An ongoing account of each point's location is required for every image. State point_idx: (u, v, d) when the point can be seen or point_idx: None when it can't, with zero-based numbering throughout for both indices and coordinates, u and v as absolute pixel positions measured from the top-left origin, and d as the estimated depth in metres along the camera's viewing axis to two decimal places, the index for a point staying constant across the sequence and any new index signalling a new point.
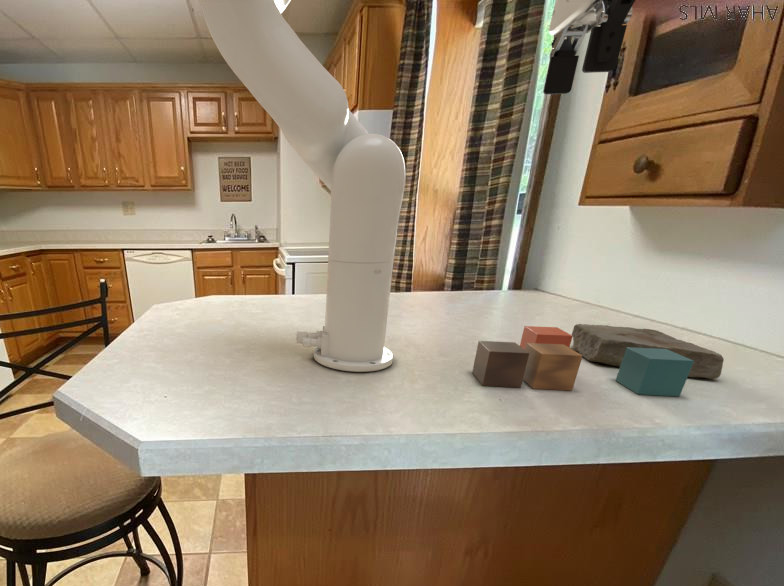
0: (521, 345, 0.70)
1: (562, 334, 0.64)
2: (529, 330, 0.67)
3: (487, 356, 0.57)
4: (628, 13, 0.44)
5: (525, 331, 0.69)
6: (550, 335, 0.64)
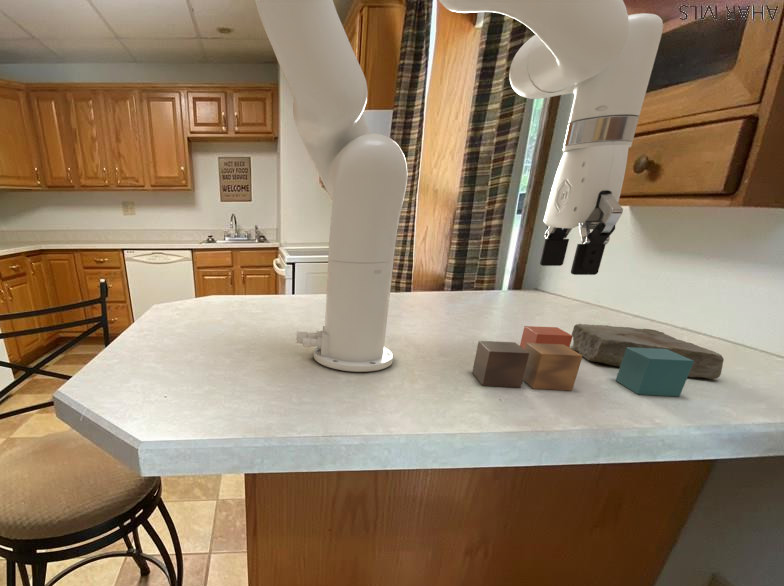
0: (521, 345, 0.70)
1: (562, 334, 0.64)
2: (529, 330, 0.67)
3: (487, 356, 0.57)
4: (606, 239, 0.55)
5: (525, 331, 0.69)
6: (550, 335, 0.64)
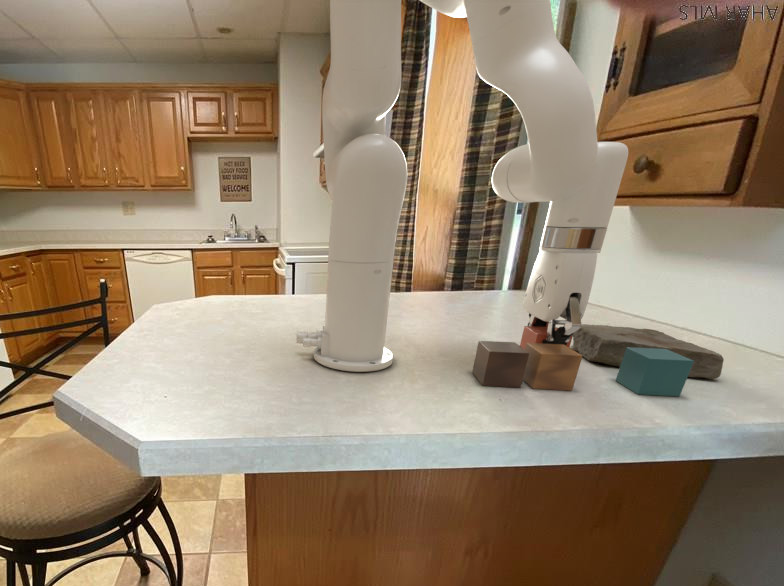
0: (521, 345, 0.70)
1: None
2: (529, 330, 0.67)
3: (487, 356, 0.57)
4: (566, 341, 0.62)
5: (525, 331, 0.69)
6: None
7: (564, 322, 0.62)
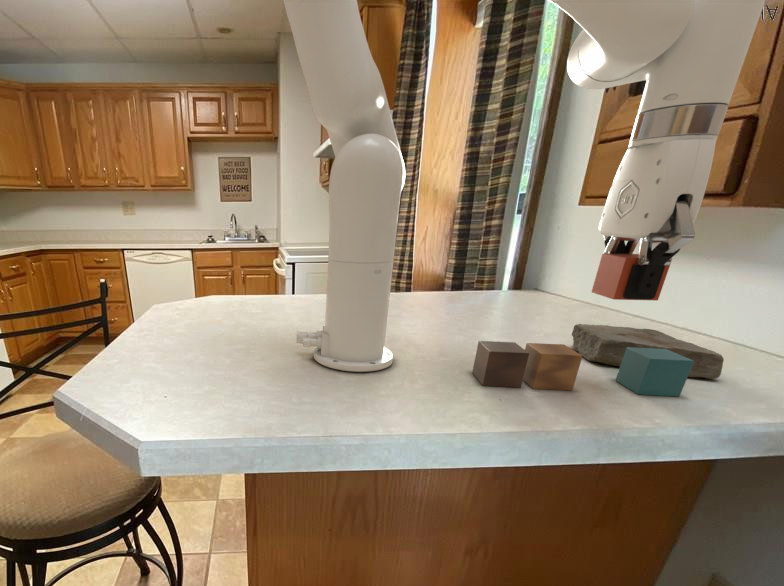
0: (597, 278, 0.56)
1: None
2: (610, 257, 0.53)
3: (487, 356, 0.57)
4: (666, 263, 0.48)
5: (603, 260, 0.55)
6: None
7: (664, 238, 0.48)
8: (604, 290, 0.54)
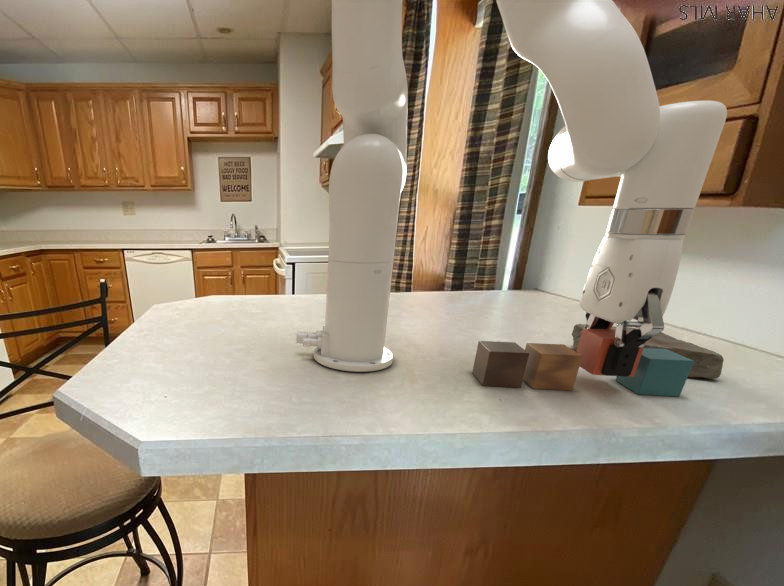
0: (578, 351, 0.59)
1: None
2: (590, 334, 0.57)
3: (487, 356, 0.57)
4: (640, 346, 0.52)
5: (584, 335, 0.58)
6: None
7: (637, 324, 0.52)
8: (584, 363, 0.58)
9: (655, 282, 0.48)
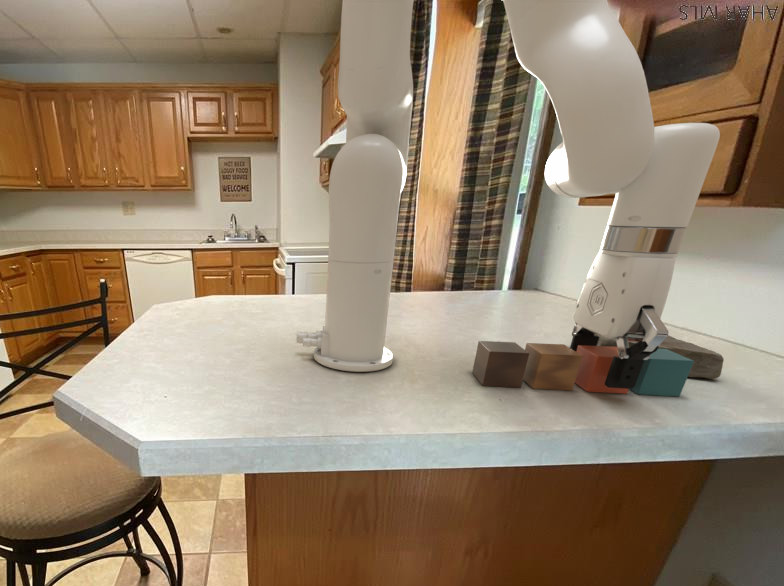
0: None
1: None
2: (585, 351, 0.58)
3: (487, 356, 0.57)
4: (646, 356, 0.50)
5: (579, 352, 0.59)
6: None
7: (637, 335, 0.51)
8: (579, 380, 0.59)
9: (647, 299, 0.49)
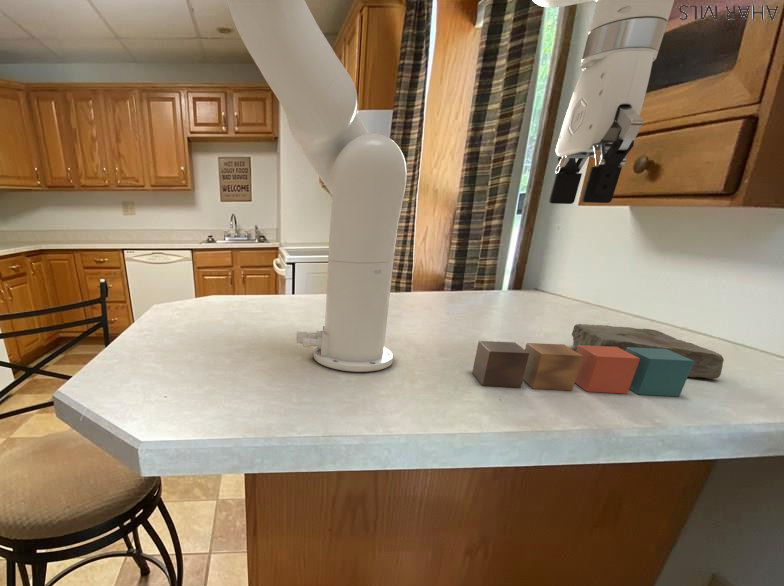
0: None
1: (627, 356, 0.55)
2: (585, 351, 0.58)
3: (487, 356, 0.57)
4: (622, 160, 0.50)
5: (579, 352, 0.59)
6: (613, 357, 0.55)
7: None
8: (579, 380, 0.59)
9: (624, 97, 0.49)
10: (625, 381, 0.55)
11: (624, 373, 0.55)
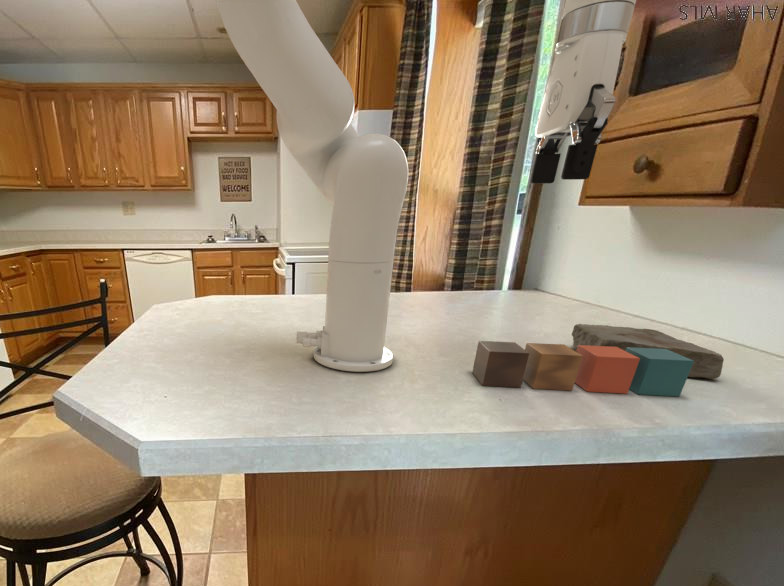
0: None
1: (627, 356, 0.55)
2: (585, 351, 0.58)
3: (487, 356, 0.57)
4: (598, 137, 0.53)
5: (579, 352, 0.59)
6: (613, 357, 0.55)
7: None
8: (579, 380, 0.59)
9: (597, 78, 0.52)
10: (625, 381, 0.55)
11: (624, 373, 0.55)
